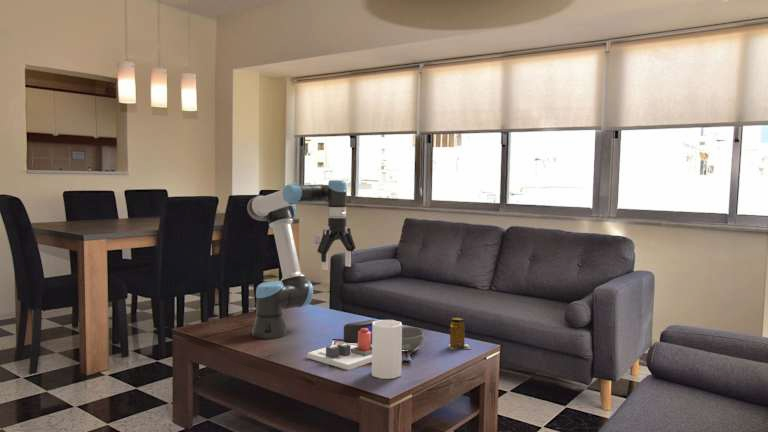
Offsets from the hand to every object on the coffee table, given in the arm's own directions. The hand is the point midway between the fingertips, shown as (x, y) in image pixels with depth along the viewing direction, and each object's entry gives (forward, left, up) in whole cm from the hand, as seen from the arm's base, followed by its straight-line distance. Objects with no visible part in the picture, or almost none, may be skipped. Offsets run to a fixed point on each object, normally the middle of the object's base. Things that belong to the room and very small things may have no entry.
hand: (336, 268), depth 237 cm
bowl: (+25, +13, -33) cm, 43 cm away
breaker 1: (+15, -17, -31) cm, 38 cm away
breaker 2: (+16, -12, -31) cm, 37 cm away
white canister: (+39, -14, -33) cm, 53 cm away
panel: (+15, -10, -33) cm, 37 cm away
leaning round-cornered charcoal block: (+6, +9, -33) cm, 35 cm away
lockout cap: (+20, -5, -31) cm, 37 cm away
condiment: (+40, +33, -33) cm, 61 cm away
